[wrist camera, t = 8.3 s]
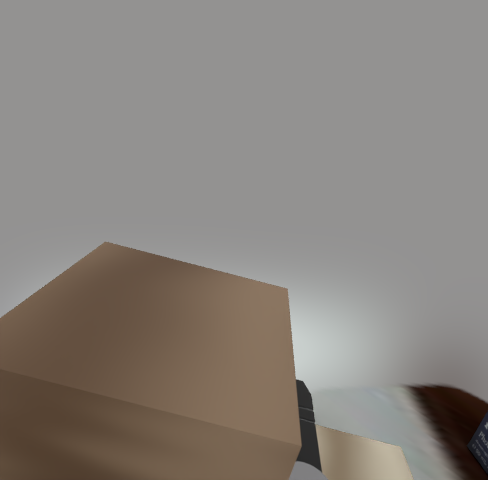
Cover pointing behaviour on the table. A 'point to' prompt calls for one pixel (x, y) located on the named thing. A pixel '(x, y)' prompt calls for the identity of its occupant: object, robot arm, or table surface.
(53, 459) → the brown wooden block
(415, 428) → the table surface
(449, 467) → the table surface
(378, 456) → the slotted wooden base
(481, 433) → the small box
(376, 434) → the table surface
